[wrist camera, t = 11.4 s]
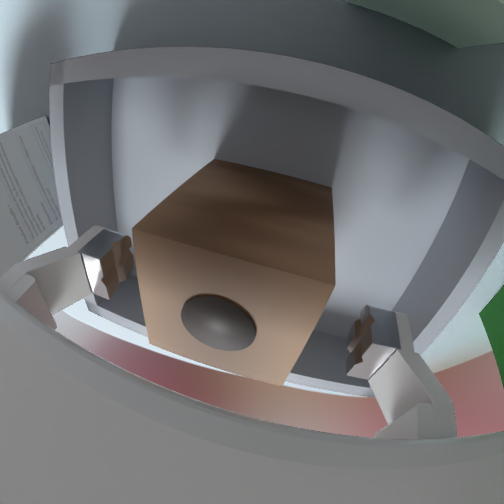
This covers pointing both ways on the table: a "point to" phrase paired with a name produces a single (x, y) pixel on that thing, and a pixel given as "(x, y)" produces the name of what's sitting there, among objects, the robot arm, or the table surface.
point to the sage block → (448, 18)
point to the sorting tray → (288, 163)
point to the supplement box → (26, 192)
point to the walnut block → (237, 268)
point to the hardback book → (495, 327)
